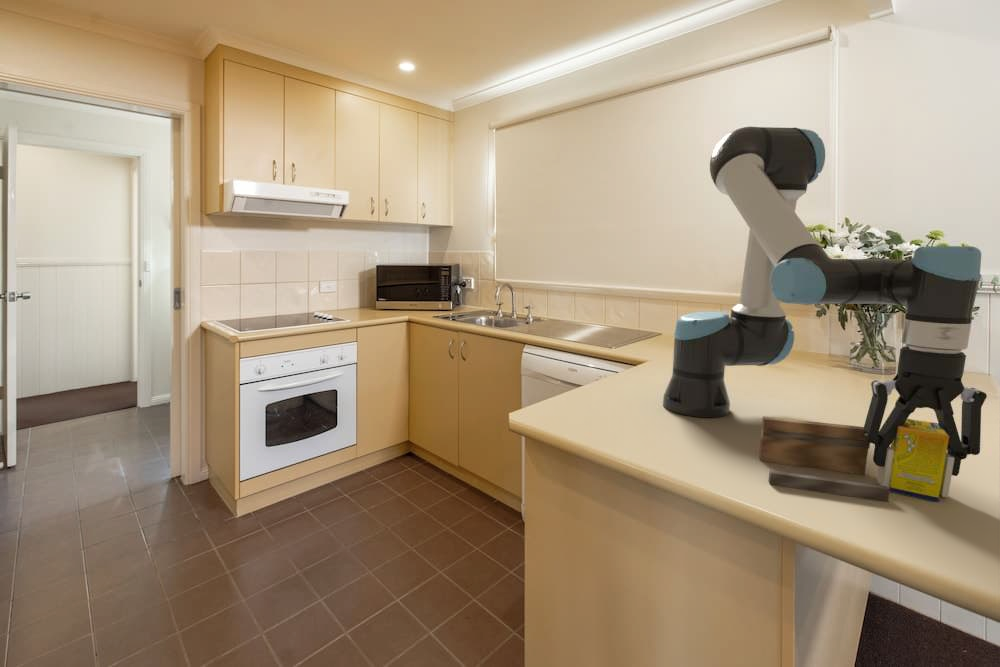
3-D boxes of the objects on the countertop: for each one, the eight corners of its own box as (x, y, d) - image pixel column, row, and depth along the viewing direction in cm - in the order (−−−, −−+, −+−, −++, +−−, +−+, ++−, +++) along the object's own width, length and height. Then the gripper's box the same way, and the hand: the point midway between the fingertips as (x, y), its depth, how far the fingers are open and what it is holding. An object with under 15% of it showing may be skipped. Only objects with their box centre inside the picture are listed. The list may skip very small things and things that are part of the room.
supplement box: (884, 477, 81) (893, 416, 79) (931, 487, 77) (942, 423, 76) (888, 492, 76) (898, 426, 74) (938, 503, 73) (950, 434, 71)
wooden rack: (769, 484, 78) (774, 438, 77) (758, 457, 89) (762, 416, 87) (887, 501, 73) (895, 452, 72) (861, 471, 83) (867, 427, 82)
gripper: (864, 348, 73) (846, 488, 76) (1035, 358, 66) (1005, 511, 70) (847, 340, 80) (831, 469, 83) (1000, 348, 73) (975, 488, 77)
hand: (911, 488), depth 77 cm, fingers closed on supplement box, 7 cm apart
